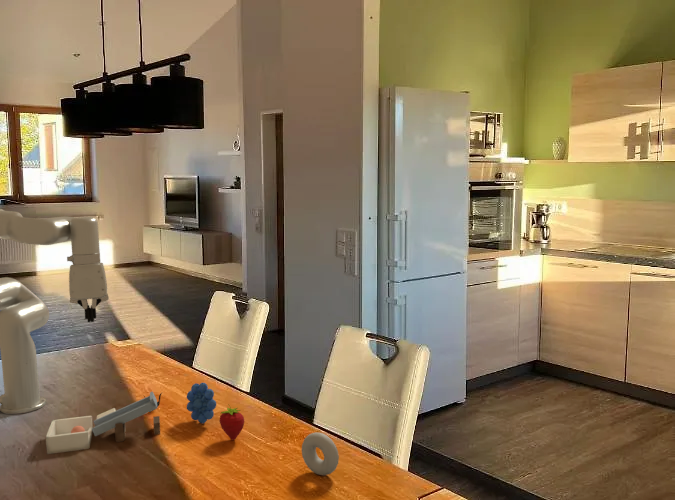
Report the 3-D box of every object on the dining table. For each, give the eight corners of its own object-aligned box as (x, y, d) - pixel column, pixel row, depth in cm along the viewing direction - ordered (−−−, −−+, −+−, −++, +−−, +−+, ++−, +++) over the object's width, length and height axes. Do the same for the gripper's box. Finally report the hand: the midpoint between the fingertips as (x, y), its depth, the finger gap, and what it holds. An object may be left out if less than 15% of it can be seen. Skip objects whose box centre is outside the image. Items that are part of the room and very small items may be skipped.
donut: (299, 471, 152) (297, 430, 151) (308, 466, 155) (307, 425, 154) (333, 483, 146) (332, 440, 145) (342, 477, 149) (341, 435, 148)
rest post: (154, 434, 176) (153, 423, 175) (154, 427, 180) (153, 416, 180) (160, 434, 176) (159, 422, 176) (160, 427, 181) (159, 416, 180)
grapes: (227, 422, 183) (226, 381, 181) (209, 430, 177) (207, 388, 176) (200, 414, 190) (198, 374, 188) (181, 421, 184) (179, 380, 183)
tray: (47, 454, 165) (45, 437, 164) (53, 435, 176) (52, 420, 176) (89, 448, 168) (87, 432, 167) (92, 430, 179) (91, 415, 179)
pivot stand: (115, 442, 171) (114, 424, 171) (116, 431, 178) (115, 414, 178) (124, 441, 172) (123, 423, 171) (125, 430, 179) (124, 413, 178)
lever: (95, 438, 171) (90, 426, 170) (99, 420, 183) (94, 409, 183) (158, 410, 174) (152, 398, 174) (157, 394, 187) (152, 383, 186)
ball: (67, 435, 170) (77, 425, 170) (68, 430, 173) (78, 421, 174) (77, 444, 171) (87, 434, 171) (78, 438, 174) (88, 429, 175)
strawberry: (231, 447, 166) (229, 410, 165) (215, 439, 172) (213, 403, 170) (250, 440, 170) (248, 404, 169) (233, 432, 176) (232, 397, 174)
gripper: (57, 262, 184) (62, 326, 186) (112, 259, 188) (117, 321, 190) (60, 259, 191) (65, 320, 194) (114, 256, 195) (118, 316, 198)
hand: (91, 321), depth 192 cm, fingers closed
